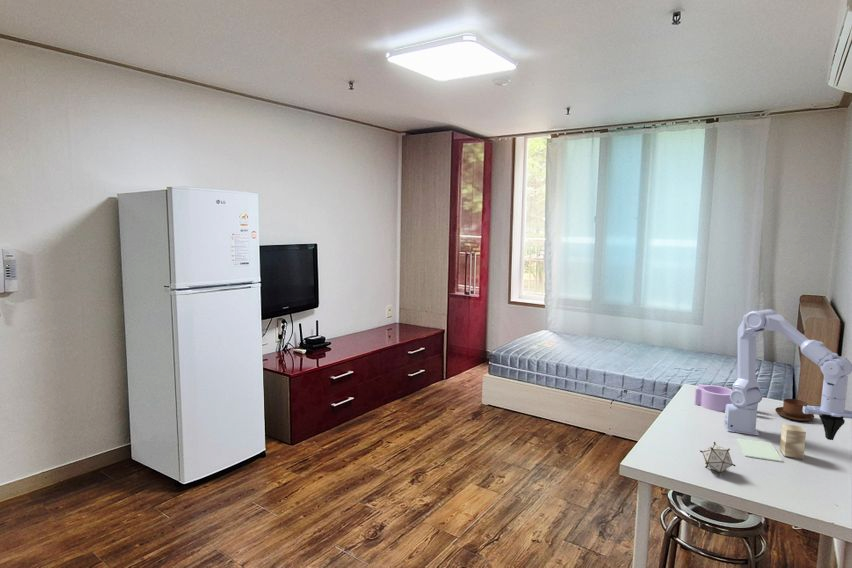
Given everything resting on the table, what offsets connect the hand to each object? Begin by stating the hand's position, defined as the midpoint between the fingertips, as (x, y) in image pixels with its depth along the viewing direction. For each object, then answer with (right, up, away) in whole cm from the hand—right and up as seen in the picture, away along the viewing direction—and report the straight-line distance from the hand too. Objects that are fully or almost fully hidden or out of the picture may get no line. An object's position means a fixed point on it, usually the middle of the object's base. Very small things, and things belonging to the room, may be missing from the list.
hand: (829, 438), depth 155 cm
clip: (-5, -2, +46) cm, 46 cm away
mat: (-17, -6, +8) cm, 20 cm away
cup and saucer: (+16, -3, +36) cm, 40 cm away
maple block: (-9, -7, +4) cm, 12 cm away
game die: (-39, -8, -6) cm, 40 cm away
